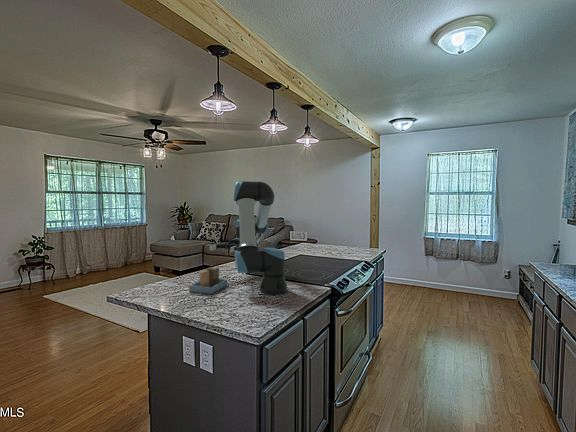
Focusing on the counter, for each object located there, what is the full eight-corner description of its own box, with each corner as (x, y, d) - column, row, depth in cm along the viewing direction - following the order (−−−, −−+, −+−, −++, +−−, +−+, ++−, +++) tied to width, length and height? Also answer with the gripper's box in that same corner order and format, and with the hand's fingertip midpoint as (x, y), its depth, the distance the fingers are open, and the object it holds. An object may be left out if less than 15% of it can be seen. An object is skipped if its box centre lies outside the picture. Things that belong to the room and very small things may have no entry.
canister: (210, 288, 174) (209, 270, 174) (208, 290, 169) (208, 272, 169) (200, 288, 174) (200, 270, 173) (199, 290, 169) (198, 272, 168)
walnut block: (218, 284, 181) (218, 267, 181) (214, 287, 176) (214, 269, 176) (210, 284, 183) (210, 267, 182) (206, 286, 178) (206, 268, 177)
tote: (227, 285, 182) (227, 279, 182) (212, 294, 165) (212, 287, 165) (206, 283, 186) (206, 277, 186) (189, 291, 169) (189, 285, 169)
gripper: (253, 251, 205) (240, 256, 185) (218, 249, 212) (201, 254, 191) (253, 239, 205) (240, 243, 184) (218, 237, 211) (201, 241, 191)
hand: (220, 249), depth 188 cm, fingers open, 13 cm apart
